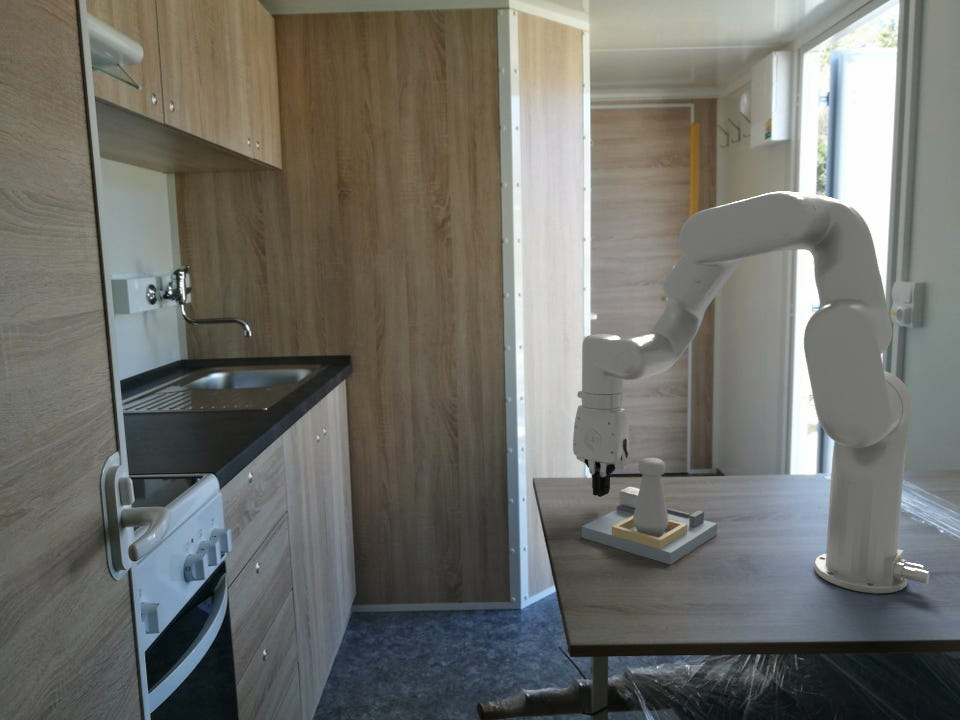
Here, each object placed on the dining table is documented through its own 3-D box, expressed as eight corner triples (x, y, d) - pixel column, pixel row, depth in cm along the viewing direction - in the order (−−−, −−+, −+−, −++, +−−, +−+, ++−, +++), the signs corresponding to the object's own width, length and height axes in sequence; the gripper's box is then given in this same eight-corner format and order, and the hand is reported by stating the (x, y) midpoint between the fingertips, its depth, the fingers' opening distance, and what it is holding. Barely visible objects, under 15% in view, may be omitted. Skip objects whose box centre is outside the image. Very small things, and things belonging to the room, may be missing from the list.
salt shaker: (671, 540, 123) (673, 464, 121) (636, 541, 123) (638, 464, 121) (663, 527, 128) (665, 454, 126) (630, 527, 128) (631, 454, 126)
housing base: (716, 534, 130) (717, 512, 129) (670, 564, 118) (671, 540, 118) (631, 511, 142) (632, 491, 141) (581, 537, 130) (582, 515, 129)
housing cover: (652, 507, 137) (653, 492, 137) (643, 512, 135) (643, 496, 134) (629, 501, 140) (629, 486, 140) (619, 506, 138) (619, 490, 137)
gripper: (557, 398, 142) (557, 490, 145) (625, 409, 132) (624, 508, 135) (580, 392, 147) (580, 481, 150) (647, 402, 137) (645, 497, 140)
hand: (600, 494), depth 143 cm, fingers closed
